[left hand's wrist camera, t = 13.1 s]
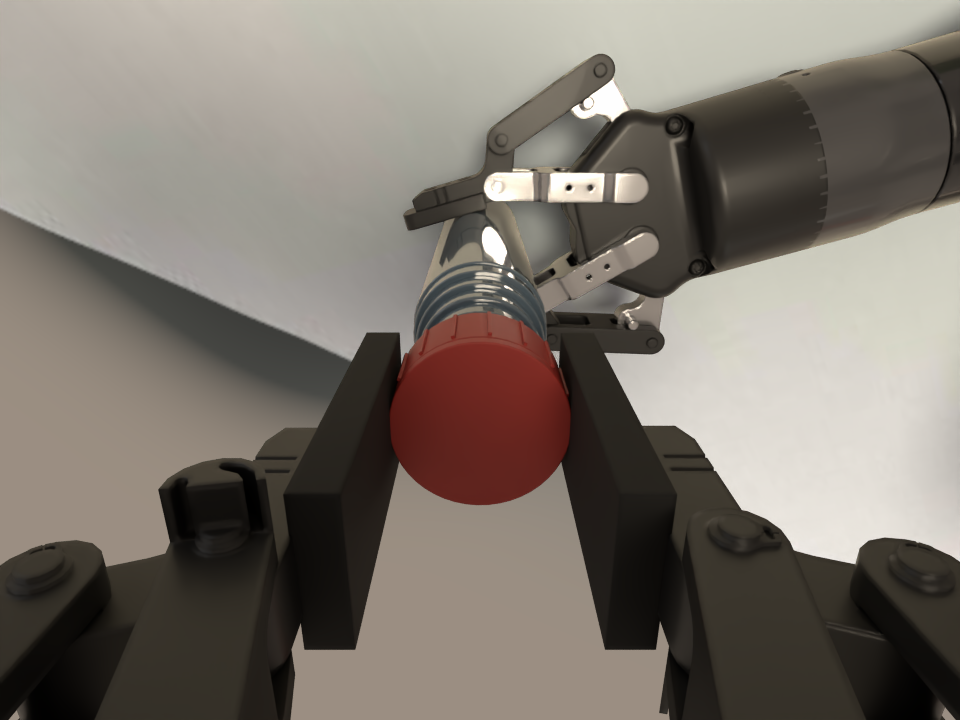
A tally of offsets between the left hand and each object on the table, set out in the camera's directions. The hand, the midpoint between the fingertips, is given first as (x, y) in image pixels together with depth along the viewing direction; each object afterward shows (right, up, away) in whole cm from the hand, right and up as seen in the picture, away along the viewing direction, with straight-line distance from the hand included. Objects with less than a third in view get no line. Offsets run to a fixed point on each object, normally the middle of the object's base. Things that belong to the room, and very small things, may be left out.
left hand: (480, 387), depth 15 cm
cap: (0, -1, -2) cm, 2 cm away
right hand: (-3, +5, +15) cm, 16 cm away
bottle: (0, +8, +20) cm, 22 cm away
